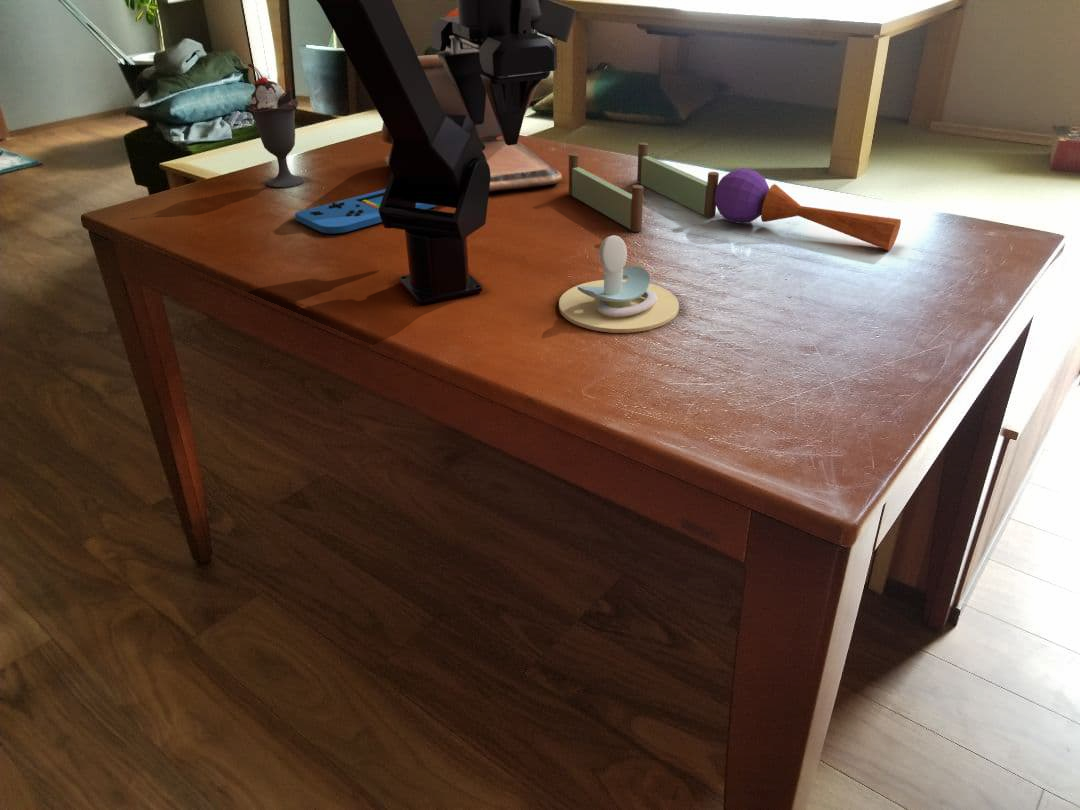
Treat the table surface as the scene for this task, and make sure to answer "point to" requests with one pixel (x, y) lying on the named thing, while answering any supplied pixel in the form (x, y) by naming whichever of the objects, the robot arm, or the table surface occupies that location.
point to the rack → (650, 175)
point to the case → (488, 137)
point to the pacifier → (620, 282)
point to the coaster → (588, 316)
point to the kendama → (794, 209)
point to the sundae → (275, 125)
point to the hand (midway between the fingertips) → (494, 134)
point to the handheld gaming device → (347, 213)
